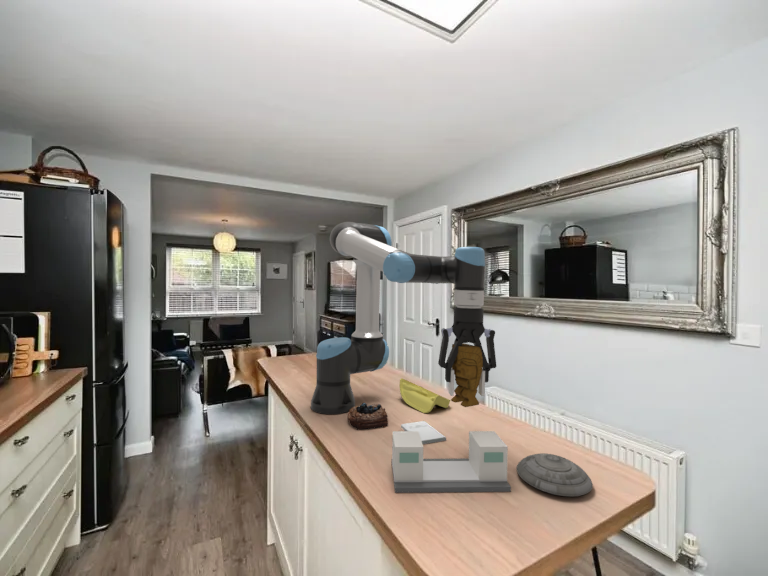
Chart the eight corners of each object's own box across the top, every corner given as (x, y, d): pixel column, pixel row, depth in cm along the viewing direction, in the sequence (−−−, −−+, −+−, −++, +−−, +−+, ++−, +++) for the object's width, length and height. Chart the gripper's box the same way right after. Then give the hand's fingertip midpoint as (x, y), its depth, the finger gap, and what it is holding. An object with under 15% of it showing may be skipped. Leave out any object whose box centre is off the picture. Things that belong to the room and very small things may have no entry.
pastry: (392, 427, 105) (392, 408, 105) (353, 432, 101) (353, 412, 101) (380, 414, 116) (380, 397, 116) (344, 418, 112) (345, 400, 112)
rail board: (391, 463, 84) (392, 427, 83) (490, 462, 84) (491, 427, 84) (395, 492, 72) (395, 451, 72) (510, 491, 72) (511, 451, 72)
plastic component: (453, 401, 122) (435, 393, 117) (445, 422, 121) (427, 415, 115) (415, 384, 138) (398, 376, 133) (408, 402, 137) (390, 395, 131)
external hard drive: (419, 447, 93) (400, 429, 105) (446, 442, 96) (425, 425, 108) (419, 441, 93) (400, 423, 105) (446, 436, 96) (425, 420, 108)
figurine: (447, 399, 93) (449, 343, 93) (465, 396, 96) (468, 342, 96) (466, 408, 87) (468, 348, 87) (485, 404, 90) (487, 346, 90)
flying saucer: (502, 477, 78) (503, 453, 78) (538, 458, 87) (538, 436, 87) (572, 512, 66) (572, 483, 66) (604, 486, 75) (605, 460, 75)
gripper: (432, 307, 87) (430, 398, 87) (512, 308, 88) (510, 399, 88) (427, 305, 94) (425, 389, 95) (501, 306, 95) (499, 390, 96)
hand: (466, 394), depth 92 cm, fingers closed on figurine, 7 cm apart
